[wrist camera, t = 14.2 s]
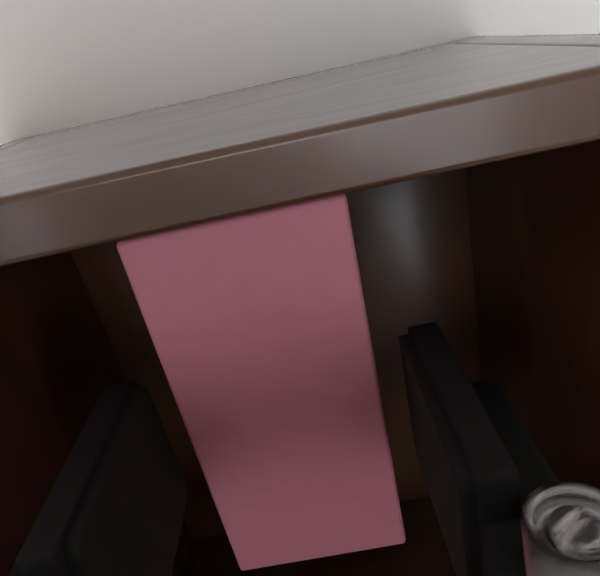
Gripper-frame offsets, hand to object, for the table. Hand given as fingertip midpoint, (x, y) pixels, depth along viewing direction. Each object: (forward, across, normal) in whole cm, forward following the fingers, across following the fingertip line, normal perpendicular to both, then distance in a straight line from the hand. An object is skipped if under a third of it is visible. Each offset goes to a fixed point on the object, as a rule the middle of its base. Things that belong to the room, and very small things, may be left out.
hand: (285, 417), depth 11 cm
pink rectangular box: (+6, 0, 0) cm, 6 cm away
